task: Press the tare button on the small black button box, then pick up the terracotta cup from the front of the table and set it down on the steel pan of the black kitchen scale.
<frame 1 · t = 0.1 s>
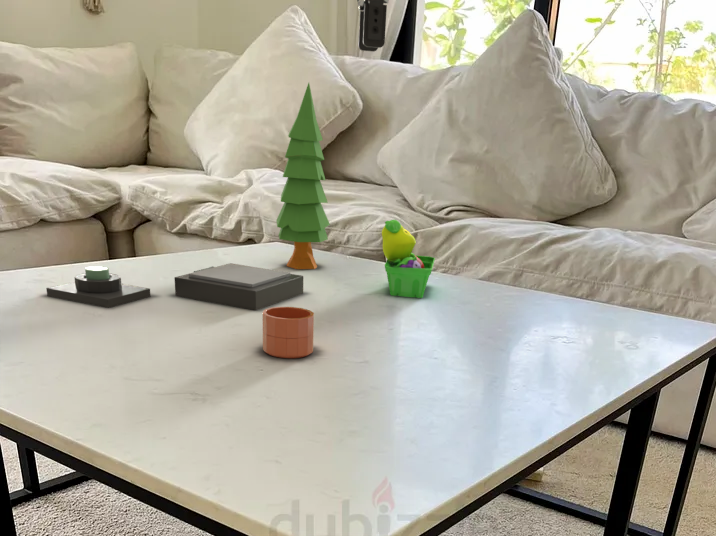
hand: (370, 49, 84), 33 cm above the table, tool pointing down, fingers open, 8 cm apart
terracotta cup: (288, 353, 95), on the table
tare button: (97, 274, 112), point 3 cm above the table, slide at 0.1 cm
decorative tree: (301, 269, 143), on the table
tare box: (100, 298, 113), on the table
fruit basket: (404, 293, 130), on the table
scale: (241, 296, 120), on the table
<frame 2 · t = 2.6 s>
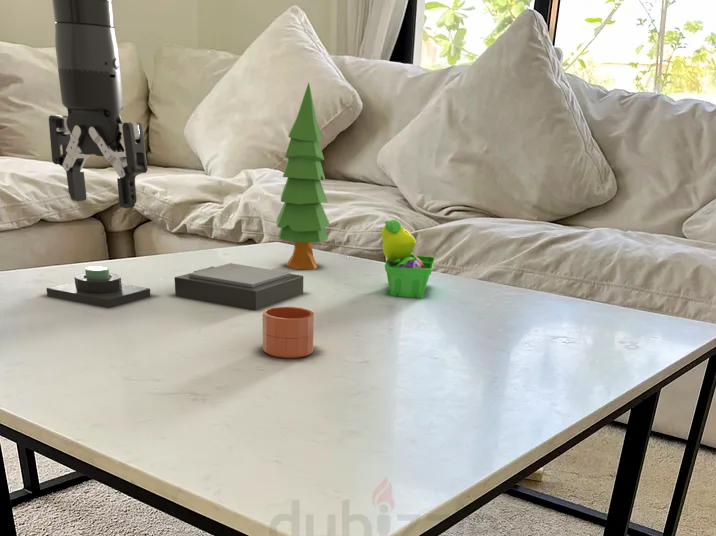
hand: (103, 204, 106), 13 cm above the table, tool pointing down, fingers open, 8 cm apart
nothing on the table moved.
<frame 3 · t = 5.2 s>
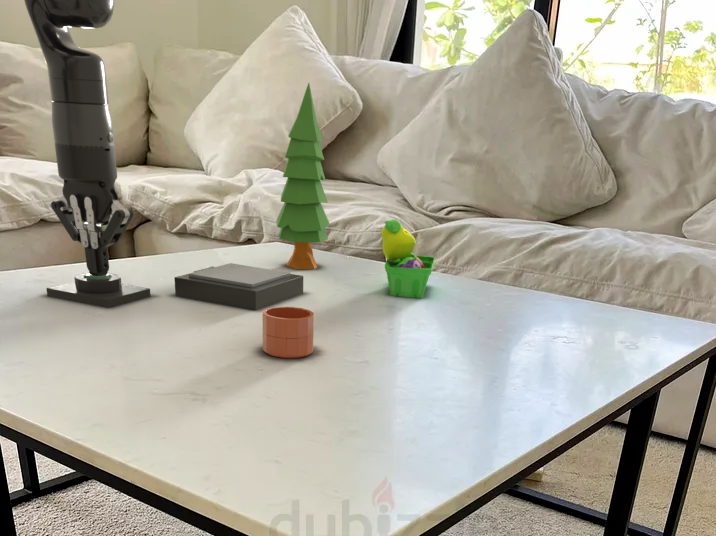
hand: (99, 274, 112), 3 cm above the table, tool pointing down, fingers closed
tare button: (98, 280, 112), point 3 cm above the table, slide at -0.7 cm, touching gripper
everything else where it was.
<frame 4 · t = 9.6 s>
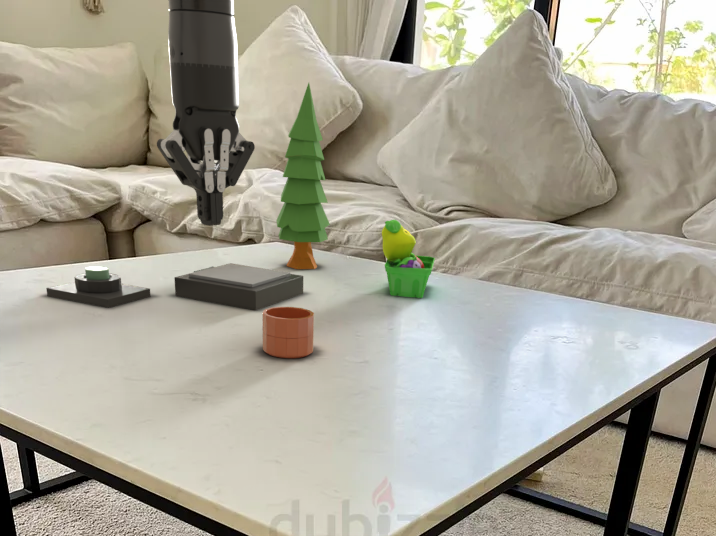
hand: (211, 224, 96), 13 cm above the table, tool pointing down, fingers closed
tare button: (97, 274, 112), point 3 cm above the table, slide at 0.1 cm
everything else where it was.
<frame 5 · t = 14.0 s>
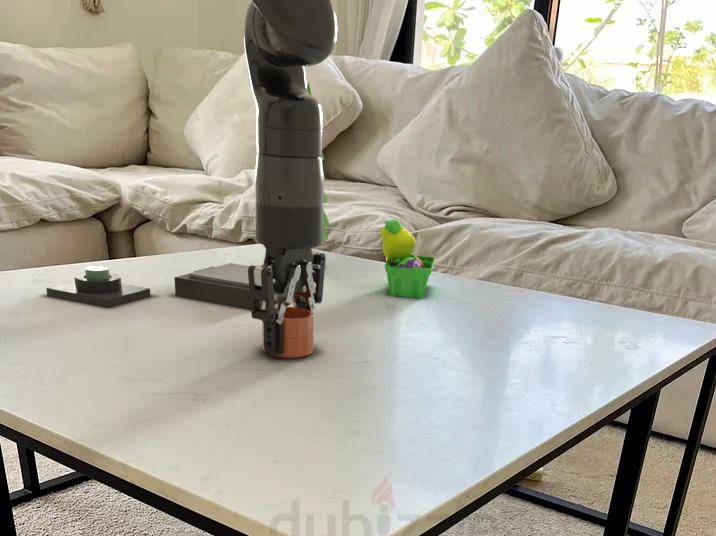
hand: (288, 346, 94), 1 cm above the table, tool pointing down, fingers closed on terracotta cup, 6 cm apart
terracotta cup: (288, 353, 95), on the table, touching gripper
everything else where it was.
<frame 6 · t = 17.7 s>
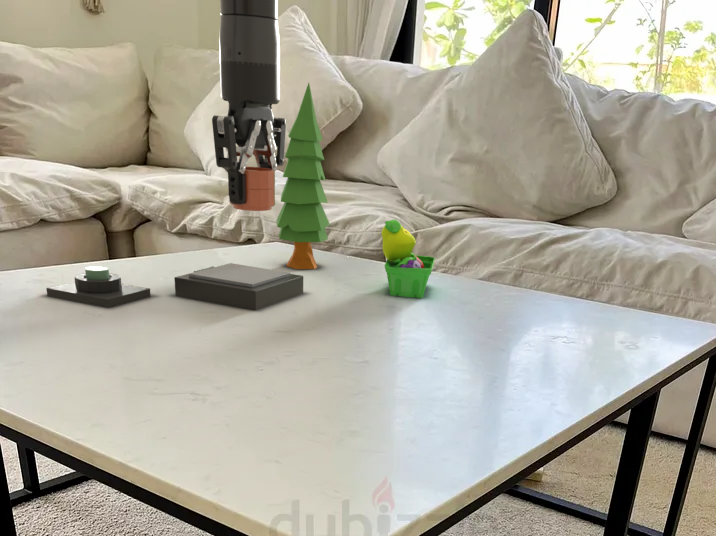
hand: (252, 201, 106), 15 cm above the table, tool pointing down, fingers closed on terracotta cup, 6 cm apart
terracotta cup: (252, 208, 106), point 14 cm above the table, touching gripper
everything else where it was.
when the fingers open (4 cm above the table, at t = 21.4 s): terracotta cup stays where it is, resting on scale.
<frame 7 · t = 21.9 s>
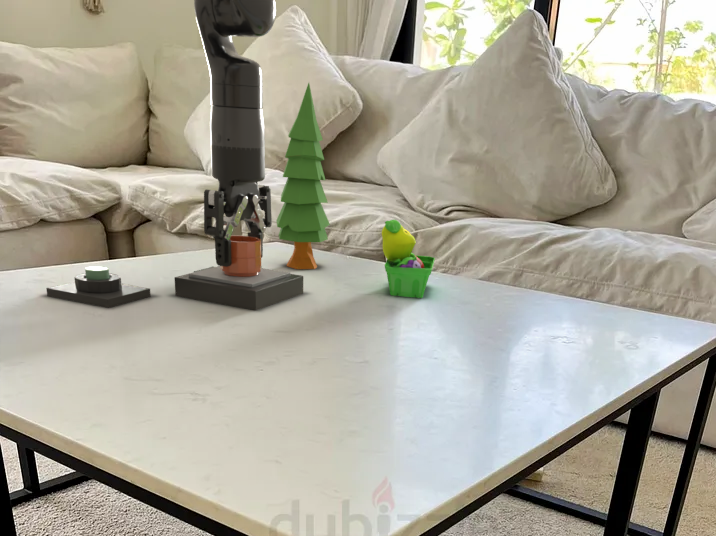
hand: (240, 261, 117), 5 cm above the table, tool pointing down, fingers open, 8 cm apart
terracotta cup: (241, 273, 118), point 3 cm above the table, touching scale
everything else where it was.
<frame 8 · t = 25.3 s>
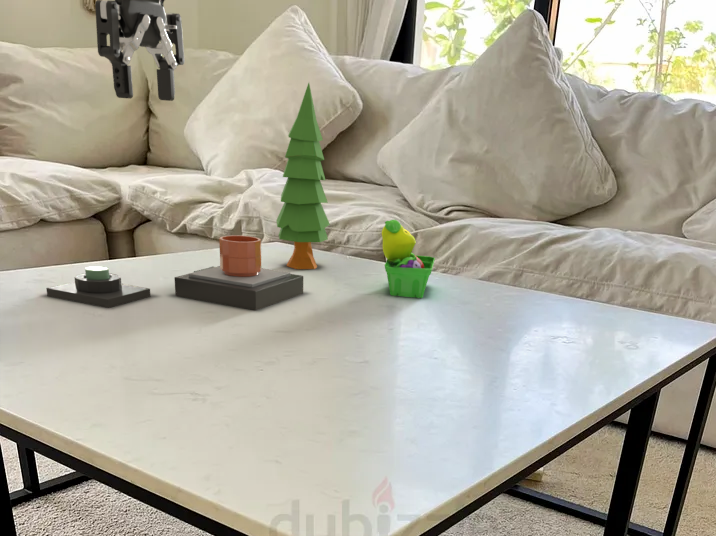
hand: (146, 99, 104), 26 cm above the table, tool pointing down, fingers open, 8 cm apart
nothing on the table moved.
at the end: tare button pushed in 0.9 cm at the most during the clip, back to where it started at the end; terracotta cup inside the target area on the scale (0.1 cm from its centre), point 3.5 cm above the scale's base; terracotta cup tilted 0° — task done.
